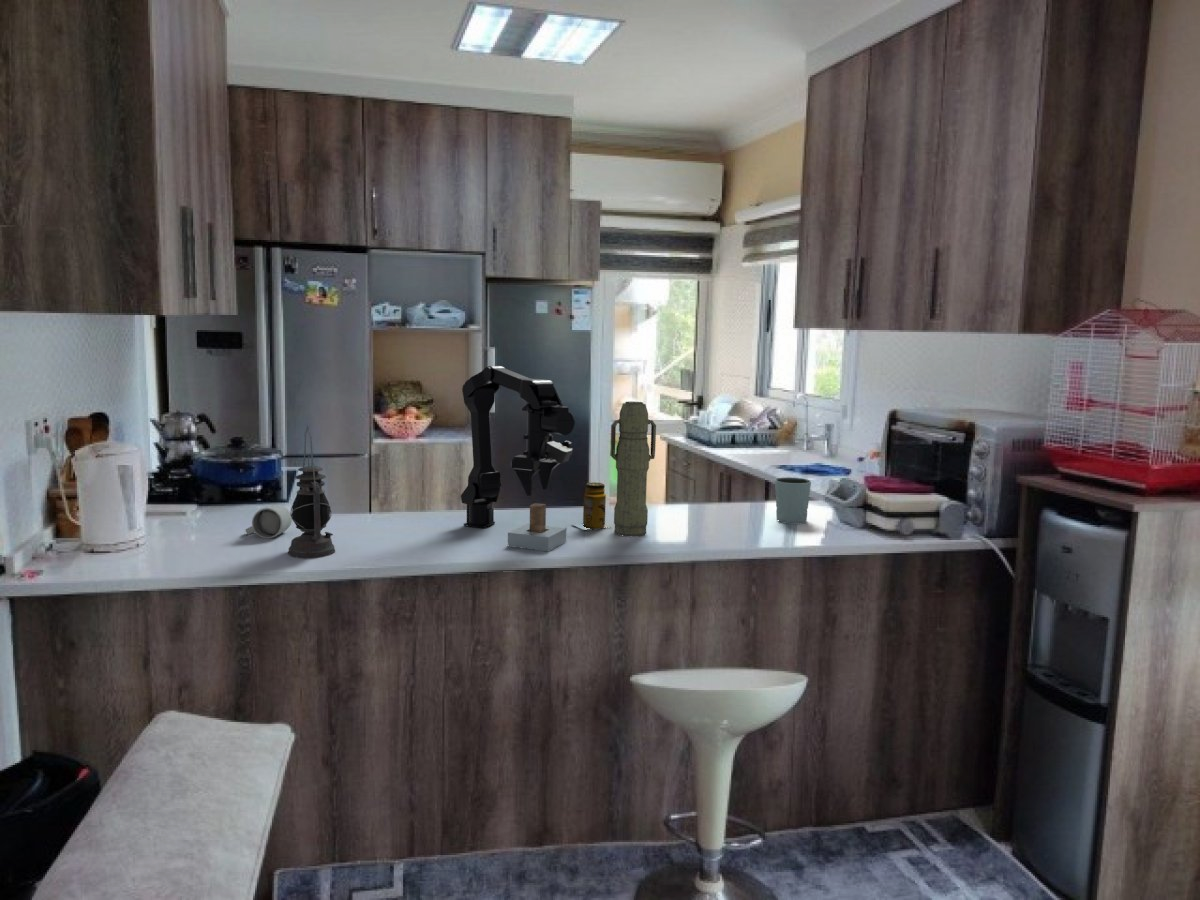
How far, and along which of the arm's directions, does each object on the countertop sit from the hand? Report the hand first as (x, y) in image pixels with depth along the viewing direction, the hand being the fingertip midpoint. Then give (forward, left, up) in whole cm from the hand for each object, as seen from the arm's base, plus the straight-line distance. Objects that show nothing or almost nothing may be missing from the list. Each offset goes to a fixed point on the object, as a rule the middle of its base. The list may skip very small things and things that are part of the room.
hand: (537, 492), depth 219 cm
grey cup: (+55, +56, -13) cm, 80 cm away
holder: (+1, -2, -13) cm, 13 cm away
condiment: (+6, +22, -13) cm, 27 cm away
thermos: (+18, +20, -13) cm, 30 cm away
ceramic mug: (-64, -24, -13) cm, 69 cm away
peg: (+1, -2, -13) cm, 13 cm away
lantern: (-43, -33, -13) cm, 55 cm away
